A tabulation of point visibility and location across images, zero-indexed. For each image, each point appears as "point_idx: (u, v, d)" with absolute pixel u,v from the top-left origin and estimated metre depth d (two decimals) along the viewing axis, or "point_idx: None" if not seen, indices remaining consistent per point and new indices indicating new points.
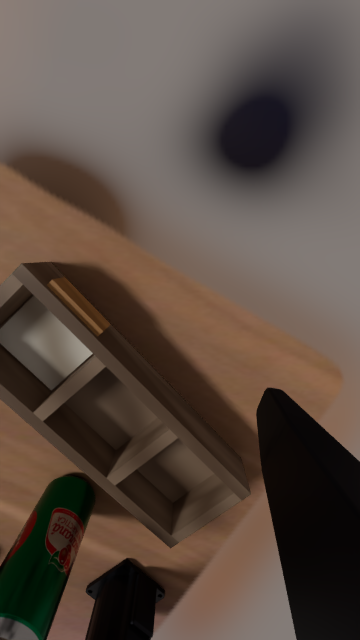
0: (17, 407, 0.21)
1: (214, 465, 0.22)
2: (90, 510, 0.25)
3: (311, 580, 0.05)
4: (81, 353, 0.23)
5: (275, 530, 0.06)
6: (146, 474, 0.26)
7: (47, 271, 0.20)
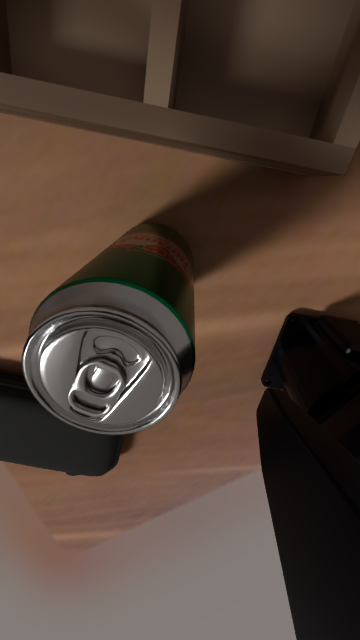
0: None
1: None
2: (183, 243, 0.15)
3: (311, 580, 0.05)
4: None
5: (275, 530, 0.06)
6: None
7: None
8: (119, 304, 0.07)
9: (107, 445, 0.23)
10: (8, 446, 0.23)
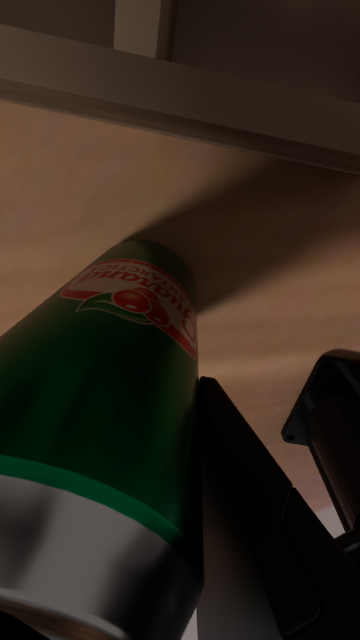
0: None
1: None
2: (182, 271, 0.11)
3: (207, 566, 0.05)
4: None
5: None
6: None
7: None
8: None
9: None
10: None
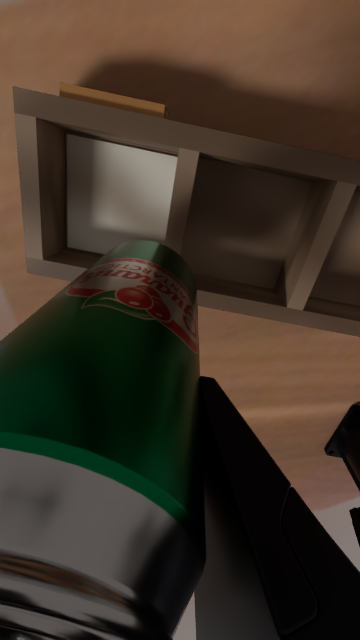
0: None
1: None
2: (183, 269, 0.11)
3: (206, 566, 0.05)
4: (162, 193, 0.17)
5: None
6: (326, 295, 0.19)
7: None
8: None
9: None
10: None
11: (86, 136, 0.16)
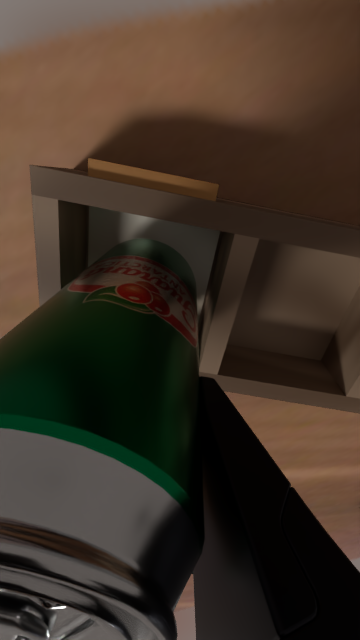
0: None
1: None
2: (183, 266, 0.11)
3: (206, 566, 0.05)
4: (200, 264, 0.14)
5: None
6: None
7: (76, 171, 0.12)
8: (8, 499, 0.03)
9: None
10: None
11: None
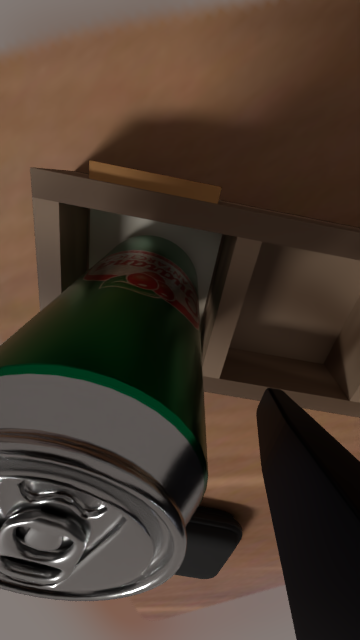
0: None
1: None
2: (184, 260, 0.12)
3: (311, 580, 0.05)
4: (202, 267, 0.14)
5: (275, 530, 0.06)
6: None
7: (77, 173, 0.12)
8: (59, 423, 0.03)
9: (225, 559, 0.26)
10: None
11: None
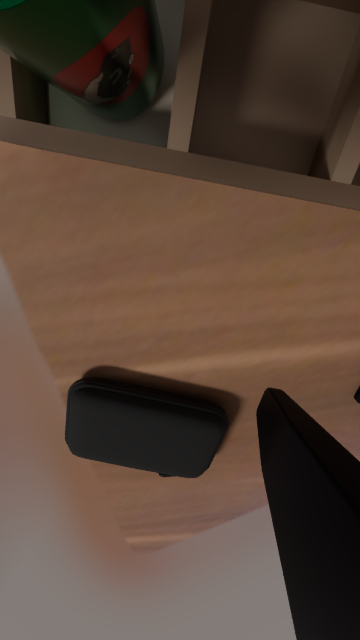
0: (142, 157, 0.13)
1: None
2: None
3: (311, 580, 0.05)
4: (169, 38, 0.13)
5: (275, 530, 0.06)
6: None
7: None
8: None
9: (211, 450, 0.24)
10: (117, 449, 0.25)
11: None
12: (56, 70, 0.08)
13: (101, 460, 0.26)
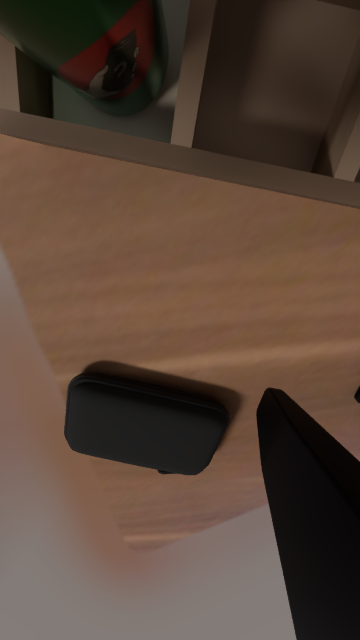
0: (145, 152, 0.13)
1: None
2: None
3: (311, 580, 0.05)
4: (173, 34, 0.13)
5: (275, 530, 0.06)
6: None
7: None
8: None
9: (211, 446, 0.24)
10: (117, 445, 0.25)
11: None
12: (62, 60, 0.08)
13: (101, 456, 0.26)
